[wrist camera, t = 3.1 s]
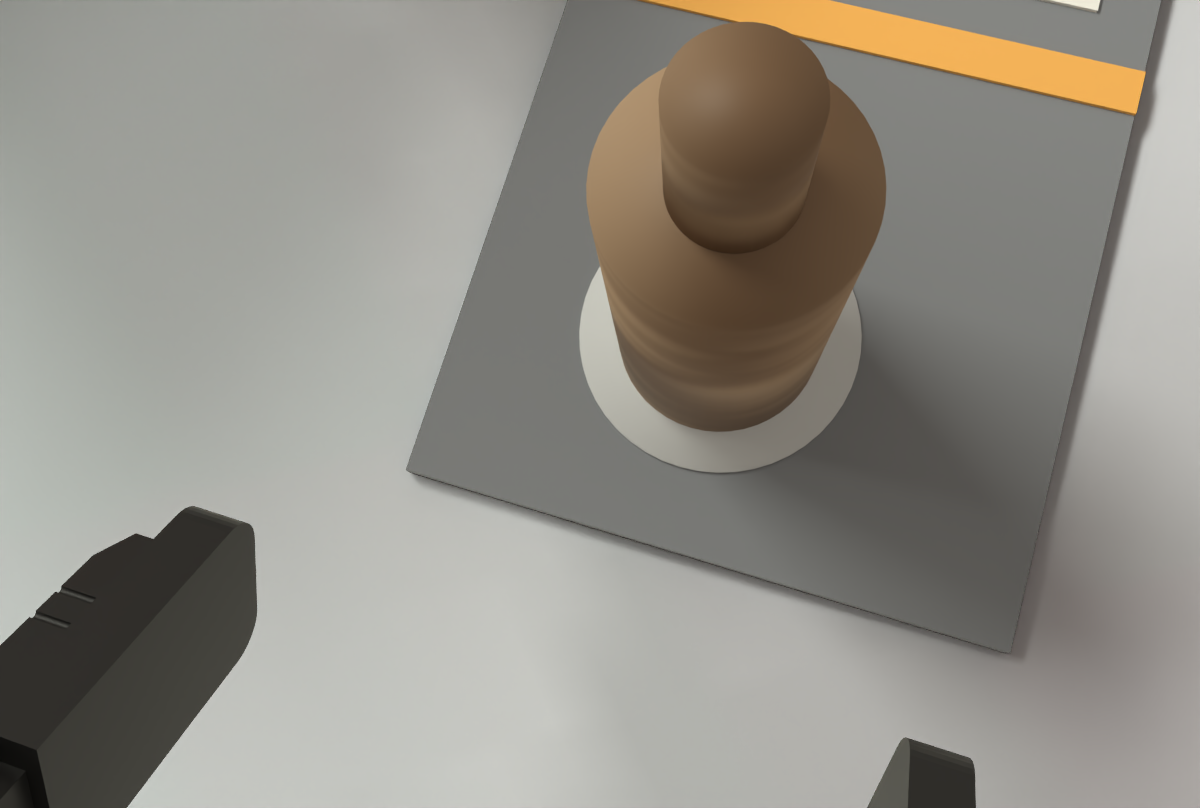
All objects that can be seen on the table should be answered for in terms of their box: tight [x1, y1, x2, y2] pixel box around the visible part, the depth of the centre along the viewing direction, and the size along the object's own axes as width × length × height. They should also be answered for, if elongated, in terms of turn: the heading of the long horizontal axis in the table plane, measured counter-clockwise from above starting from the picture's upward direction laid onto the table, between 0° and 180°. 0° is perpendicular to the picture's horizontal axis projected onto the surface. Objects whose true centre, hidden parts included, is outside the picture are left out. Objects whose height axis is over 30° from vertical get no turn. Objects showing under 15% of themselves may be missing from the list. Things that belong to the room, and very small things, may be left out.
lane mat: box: [406, 0, 1161, 653], centre depth 28 cm, size 15×25×1 cm, turn 163°
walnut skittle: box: [586, 22, 886, 432], centre depth 21 cm, size 5×5×12 cm
